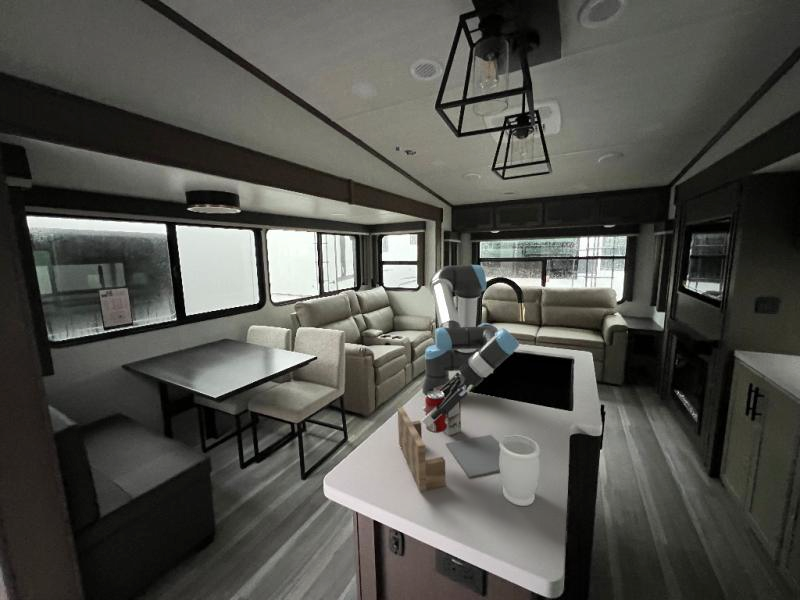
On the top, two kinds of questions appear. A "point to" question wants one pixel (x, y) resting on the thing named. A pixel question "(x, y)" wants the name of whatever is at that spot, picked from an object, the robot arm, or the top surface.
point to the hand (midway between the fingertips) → (425, 417)
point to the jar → (519, 468)
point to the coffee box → (453, 418)
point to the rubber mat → (477, 455)
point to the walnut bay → (419, 455)
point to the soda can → (431, 402)
